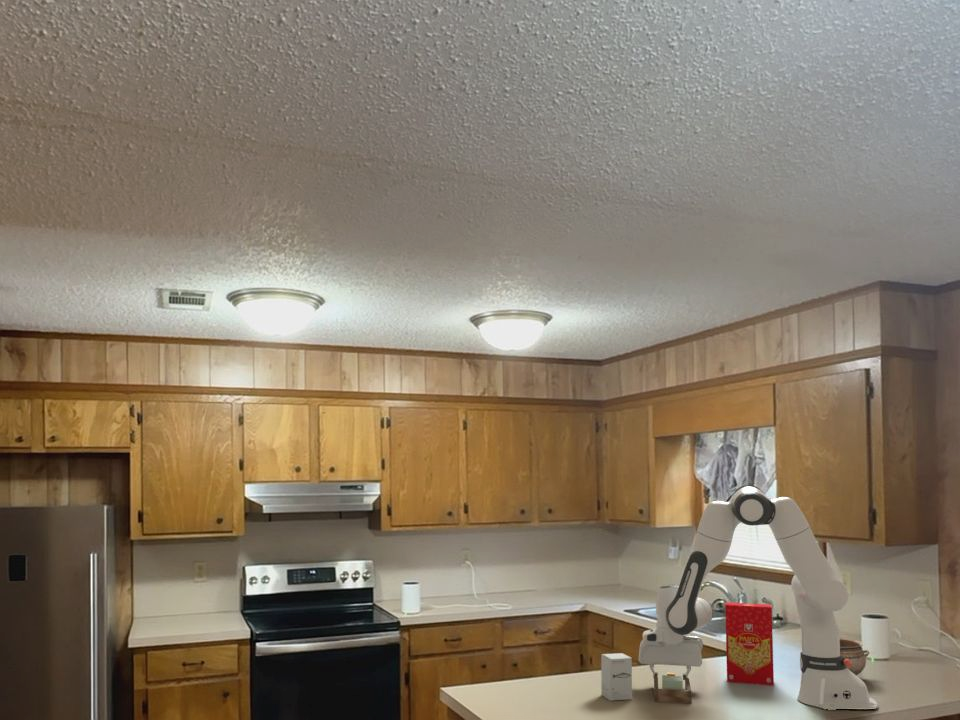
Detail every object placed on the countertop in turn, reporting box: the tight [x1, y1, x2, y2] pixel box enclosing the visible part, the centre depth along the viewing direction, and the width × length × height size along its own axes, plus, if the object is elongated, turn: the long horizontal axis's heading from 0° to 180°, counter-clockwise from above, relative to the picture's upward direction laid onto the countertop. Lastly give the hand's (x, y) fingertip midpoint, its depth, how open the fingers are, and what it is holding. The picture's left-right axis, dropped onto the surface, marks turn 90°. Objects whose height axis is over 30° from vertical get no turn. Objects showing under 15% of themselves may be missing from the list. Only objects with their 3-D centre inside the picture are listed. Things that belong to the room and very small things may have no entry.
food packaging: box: [725, 601, 775, 687], centre depth 295 cm, size 15×5×25 cm, turn 73°
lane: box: [653, 676, 692, 704], centre depth 278 cm, size 11×16×4 cm
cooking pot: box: [839, 636, 870, 676], centre depth 299 cm, size 25×19×12 cm
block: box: [661, 671, 684, 690], centre depth 280 cm, size 6×17×6 cm, turn 169°
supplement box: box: [600, 652, 633, 702], centre depth 275 cm, size 7×7×13 cm
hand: (670, 678), depth 287 cm, fingers open, 8 cm apart
